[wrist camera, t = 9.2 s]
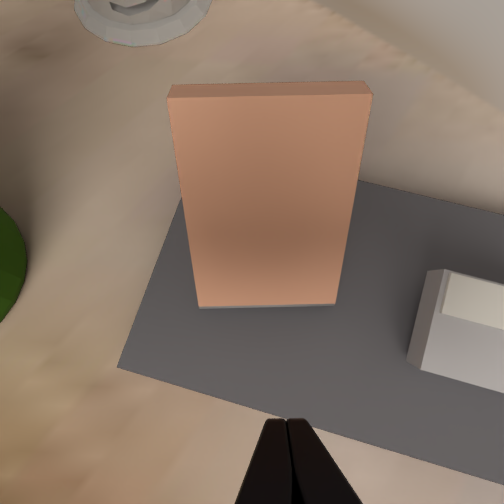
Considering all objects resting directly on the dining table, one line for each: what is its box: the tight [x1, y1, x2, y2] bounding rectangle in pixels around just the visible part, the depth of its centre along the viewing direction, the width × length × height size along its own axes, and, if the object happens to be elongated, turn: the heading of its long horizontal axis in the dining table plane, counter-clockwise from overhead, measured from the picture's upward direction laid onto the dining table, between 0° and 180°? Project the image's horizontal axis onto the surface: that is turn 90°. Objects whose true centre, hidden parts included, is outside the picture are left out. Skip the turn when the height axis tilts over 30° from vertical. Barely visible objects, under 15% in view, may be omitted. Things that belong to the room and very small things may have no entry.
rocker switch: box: [406, 269, 504, 393], centre depth 16 cm, size 4×5×2 cm
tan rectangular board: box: [167, 81, 373, 309], centre depth 15 cm, size 1×6×10 cm
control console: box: [117, 180, 504, 485], centre depth 18 cm, size 12×29×4 cm, turn 74°
